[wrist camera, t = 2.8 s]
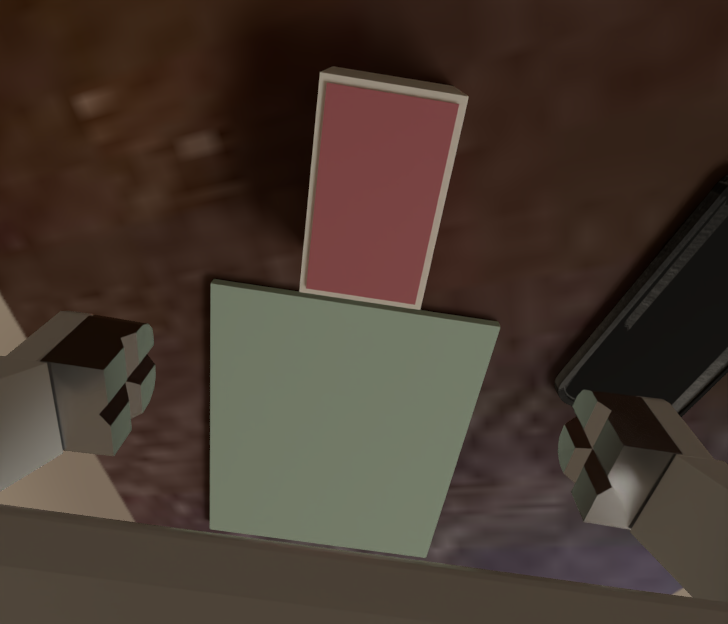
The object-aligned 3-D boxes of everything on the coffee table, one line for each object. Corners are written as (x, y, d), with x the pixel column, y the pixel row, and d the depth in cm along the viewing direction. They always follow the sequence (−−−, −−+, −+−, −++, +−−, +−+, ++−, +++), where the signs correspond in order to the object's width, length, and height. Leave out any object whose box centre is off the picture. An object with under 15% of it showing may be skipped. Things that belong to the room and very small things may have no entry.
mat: (214, 278, 28) (210, 283, 27) (498, 321, 28) (500, 327, 28) (212, 522, 37) (209, 528, 37) (425, 550, 38) (425, 557, 37)
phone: (868, 236, 24) (655, 443, 31) (849, 228, 25) (646, 430, 32) (744, 162, 23) (548, 395, 30) (729, 158, 24) (543, 384, 31)
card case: (333, 65, 23) (319, 72, 18) (453, 85, 23) (469, 96, 18) (313, 250, 27) (298, 293, 22) (414, 266, 27) (420, 311, 23)
